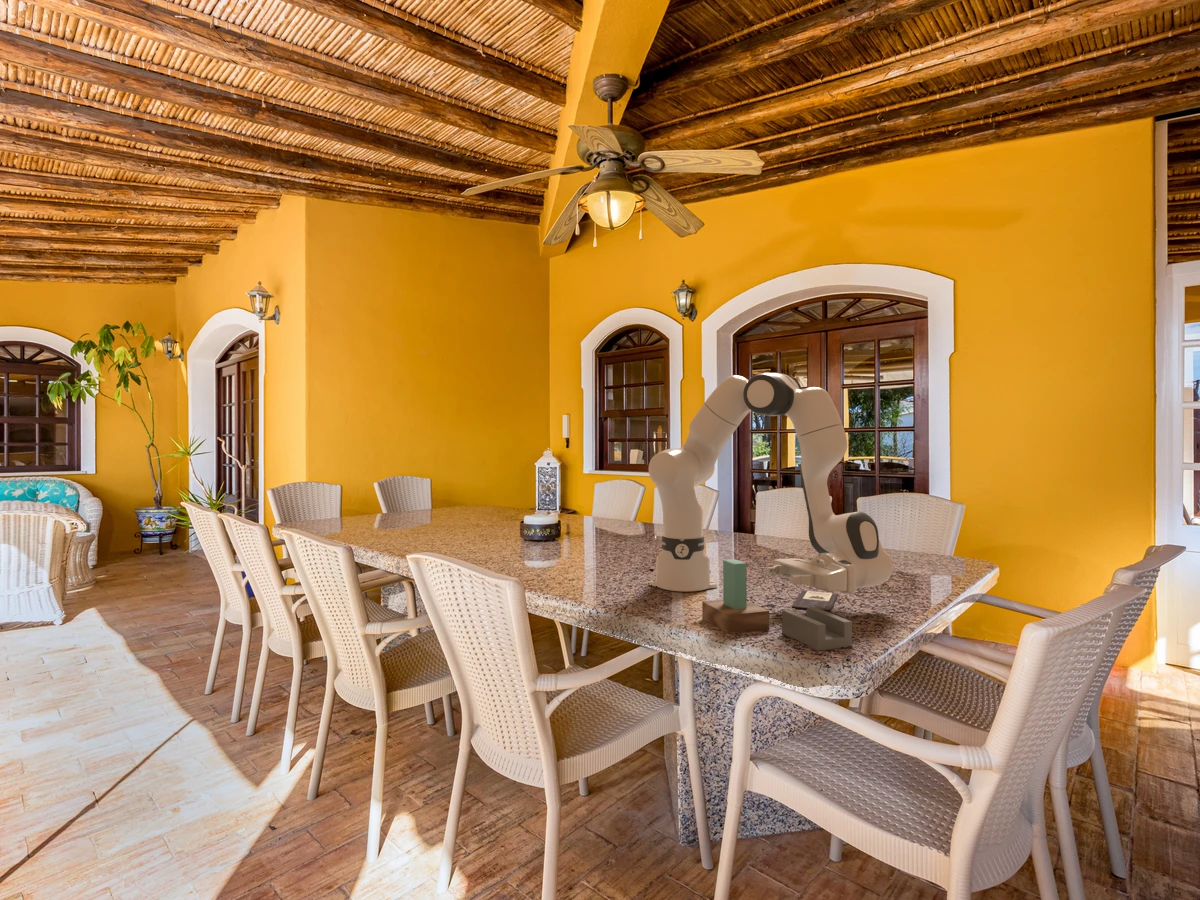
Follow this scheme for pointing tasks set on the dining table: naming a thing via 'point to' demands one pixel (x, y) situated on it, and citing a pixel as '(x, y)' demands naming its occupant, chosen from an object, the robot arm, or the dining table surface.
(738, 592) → the sage green upright block
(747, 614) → the brown block
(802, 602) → the chocolate bar
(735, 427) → the robot arm
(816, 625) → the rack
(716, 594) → the dining table surface
